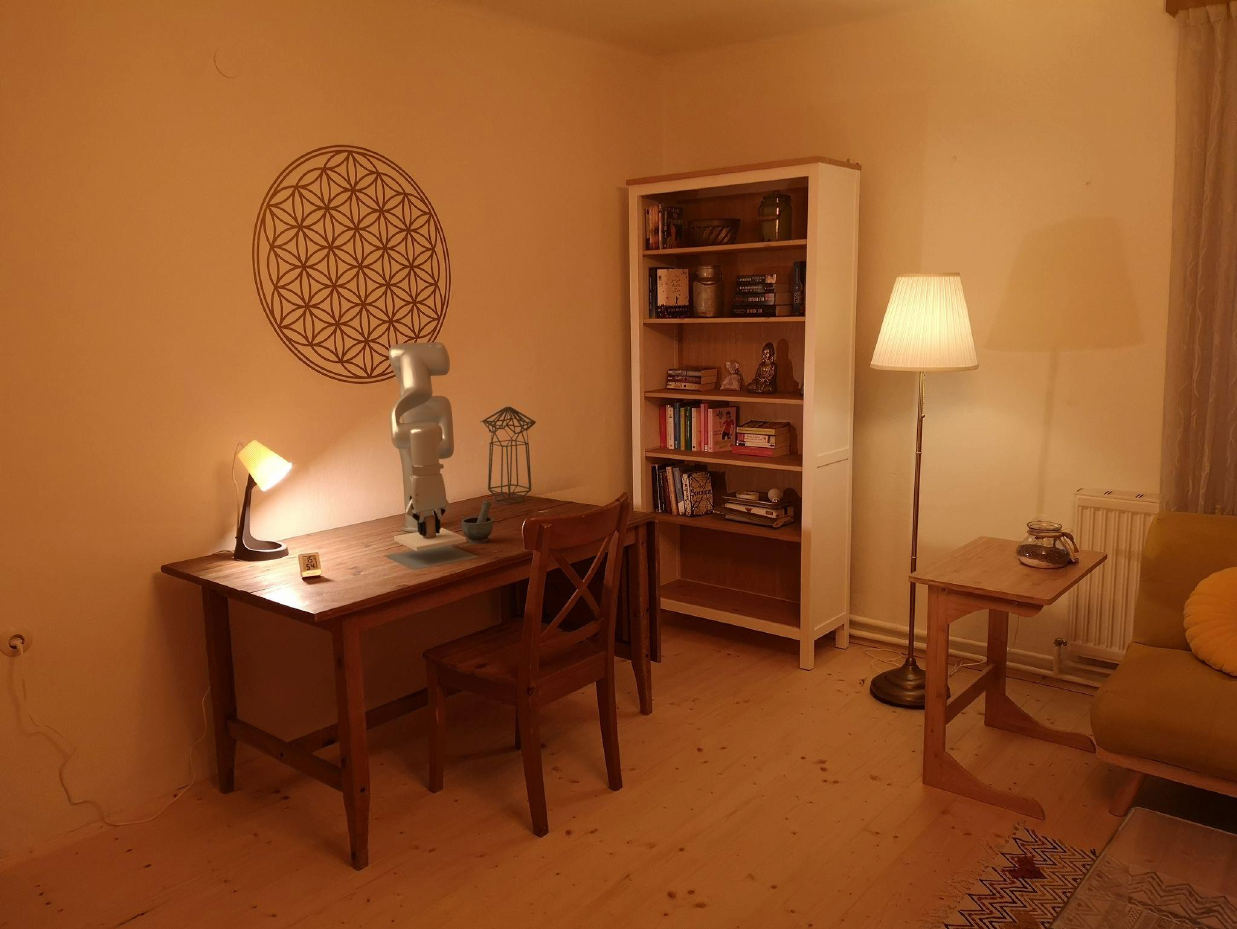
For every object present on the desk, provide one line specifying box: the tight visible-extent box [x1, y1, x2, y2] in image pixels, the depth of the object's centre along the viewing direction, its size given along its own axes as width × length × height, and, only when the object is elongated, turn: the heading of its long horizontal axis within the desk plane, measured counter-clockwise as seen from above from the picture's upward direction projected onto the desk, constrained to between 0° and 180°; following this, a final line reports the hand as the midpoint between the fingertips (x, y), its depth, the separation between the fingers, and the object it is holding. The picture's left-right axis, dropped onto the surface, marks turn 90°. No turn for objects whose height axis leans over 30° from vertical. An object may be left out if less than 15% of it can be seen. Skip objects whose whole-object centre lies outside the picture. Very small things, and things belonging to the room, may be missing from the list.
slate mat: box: [383, 545, 479, 571], centre depth 271 cm, size 20×20×1 cm
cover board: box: [393, 515, 467, 551], centre depth 271 cm, size 15×15×7 cm
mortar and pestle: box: [460, 500, 494, 544], centre depth 289 cm, size 11×9×12 cm
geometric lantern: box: [480, 406, 537, 505], centre depth 347 cm, size 16×16×35 cm
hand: (429, 533), depth 271 cm, fingers closed on cover board, 3 cm apart
